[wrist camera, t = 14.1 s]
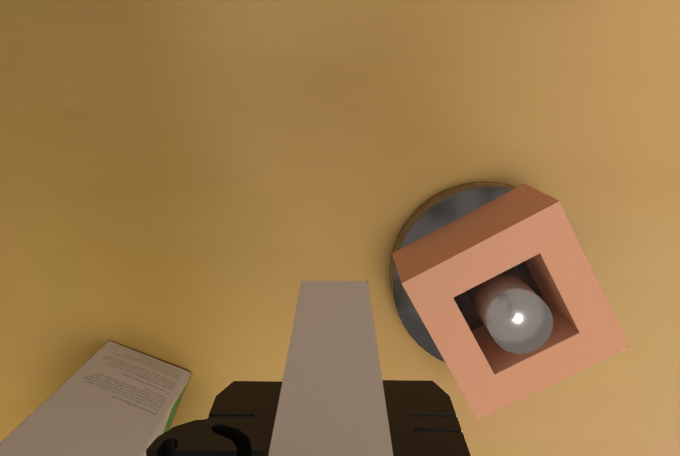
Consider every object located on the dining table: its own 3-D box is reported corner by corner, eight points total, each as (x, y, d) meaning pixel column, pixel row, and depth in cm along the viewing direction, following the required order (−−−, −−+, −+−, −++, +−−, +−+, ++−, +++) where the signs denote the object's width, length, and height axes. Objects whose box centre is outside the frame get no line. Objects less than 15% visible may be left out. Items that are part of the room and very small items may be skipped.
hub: (393, 180, 38) (409, 207, 29) (578, 183, 38) (654, 211, 29) (386, 352, 41) (399, 428, 31) (560, 355, 41) (624, 432, 31)
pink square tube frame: (392, 253, 36) (401, 283, 31) (523, 183, 35) (559, 201, 30) (456, 370, 38) (477, 420, 32) (584, 307, 37) (629, 346, 31)
